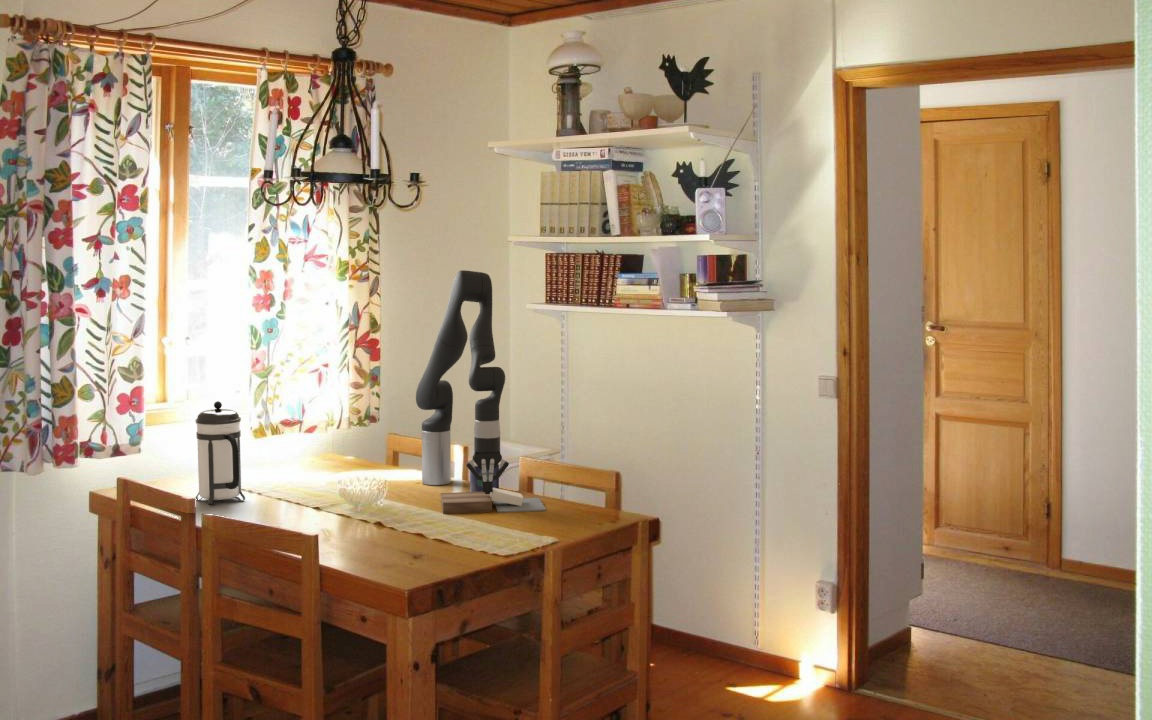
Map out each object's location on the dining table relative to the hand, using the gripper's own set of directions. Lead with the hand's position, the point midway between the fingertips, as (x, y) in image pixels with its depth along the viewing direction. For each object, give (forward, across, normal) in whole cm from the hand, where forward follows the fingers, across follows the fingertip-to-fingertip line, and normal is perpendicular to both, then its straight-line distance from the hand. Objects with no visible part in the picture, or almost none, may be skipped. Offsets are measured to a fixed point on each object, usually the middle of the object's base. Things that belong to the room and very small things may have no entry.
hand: (487, 493), depth 322 cm
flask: (+4, -1, -19) cm, 20 cm away
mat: (+4, -9, 0) cm, 10 cm away
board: (+4, +6, 0) cm, 7 cm away
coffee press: (+4, +77, -18) cm, 80 cm away
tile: (+1, -6, 0) cm, 6 cm away
